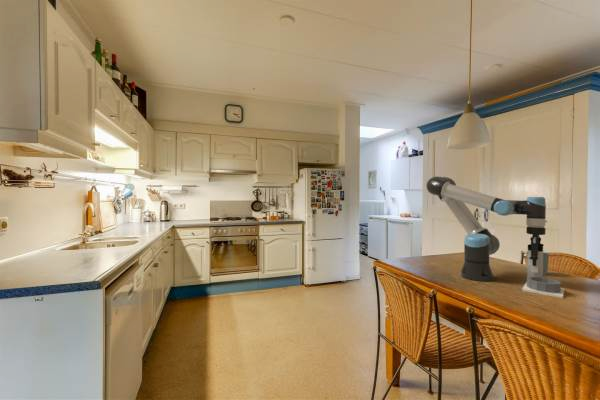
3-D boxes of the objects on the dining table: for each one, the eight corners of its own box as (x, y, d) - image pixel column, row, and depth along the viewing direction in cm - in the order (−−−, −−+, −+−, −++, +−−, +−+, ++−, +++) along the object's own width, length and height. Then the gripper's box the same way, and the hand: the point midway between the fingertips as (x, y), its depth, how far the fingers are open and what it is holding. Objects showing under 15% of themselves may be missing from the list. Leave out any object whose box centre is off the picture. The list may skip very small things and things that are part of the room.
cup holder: (522, 290, 132) (522, 280, 132) (526, 284, 142) (526, 274, 142) (563, 298, 122) (563, 286, 122) (564, 290, 132) (564, 280, 132)
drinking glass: (546, 272, 164) (547, 252, 164) (550, 276, 155) (550, 255, 155) (524, 270, 169) (525, 250, 169) (527, 274, 161) (527, 253, 160)
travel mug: (546, 284, 141) (547, 245, 141) (531, 283, 143) (532, 244, 142) (538, 281, 147) (539, 243, 147) (524, 280, 149) (524, 242, 149)
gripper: (543, 228, 135) (543, 275, 135) (547, 225, 149) (546, 268, 150) (523, 227, 140) (523, 272, 140) (528, 224, 155) (528, 265, 155)
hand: (535, 270), depth 145 cm, fingers open, 8 cm apart
